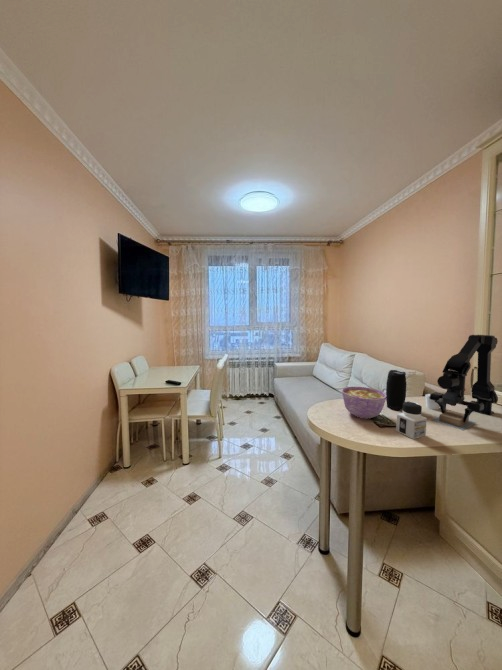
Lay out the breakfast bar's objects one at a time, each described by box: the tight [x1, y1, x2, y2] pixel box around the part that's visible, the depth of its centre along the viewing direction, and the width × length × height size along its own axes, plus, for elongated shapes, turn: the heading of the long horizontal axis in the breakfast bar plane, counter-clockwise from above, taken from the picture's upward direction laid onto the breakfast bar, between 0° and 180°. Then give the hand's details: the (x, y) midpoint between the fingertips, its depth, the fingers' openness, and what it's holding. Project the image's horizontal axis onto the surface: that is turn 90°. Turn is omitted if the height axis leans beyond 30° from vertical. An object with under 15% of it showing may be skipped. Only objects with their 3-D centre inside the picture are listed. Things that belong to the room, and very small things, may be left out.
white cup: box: [424, 393, 440, 411], centre depth 133 cm, size 7×7×7 cm
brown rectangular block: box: [438, 409, 470, 427], centre depth 116 cm, size 11×7×3 cm
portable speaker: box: [385, 369, 407, 411], centre depth 133 cm, size 9×9×20 cm
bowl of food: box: [341, 386, 387, 419], centre depth 123 cm, size 20×20×12 cm
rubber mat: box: [431, 415, 477, 431], centre depth 116 cm, size 15×12×1 cm
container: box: [395, 401, 428, 440], centre depth 104 cm, size 8×8×13 cm
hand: (453, 419), depth 116 cm, fingers closed on brown rectangular block, 7 cm apart
